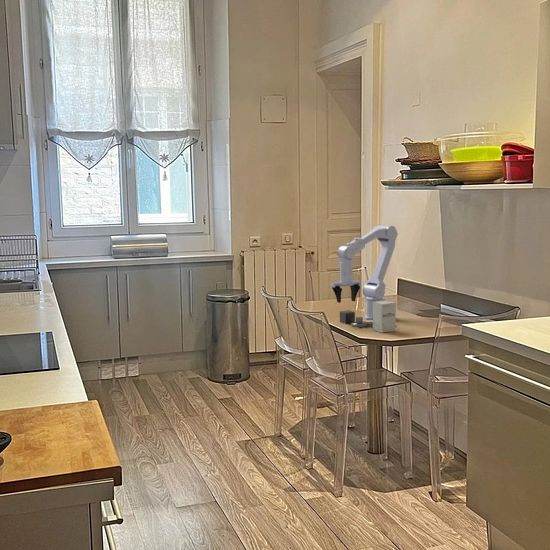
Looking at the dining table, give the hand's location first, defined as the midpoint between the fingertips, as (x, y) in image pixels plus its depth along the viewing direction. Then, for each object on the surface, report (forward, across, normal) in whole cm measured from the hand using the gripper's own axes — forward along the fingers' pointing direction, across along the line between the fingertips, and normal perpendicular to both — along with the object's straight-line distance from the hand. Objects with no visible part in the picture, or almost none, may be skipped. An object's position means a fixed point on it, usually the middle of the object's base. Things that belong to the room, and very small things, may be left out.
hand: (346, 301), depth 322 cm
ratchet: (+10, +6, -12) cm, 17 cm away
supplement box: (+10, +5, -23) cm, 26 cm away
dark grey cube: (+10, 0, 0) cm, 10 cm away
